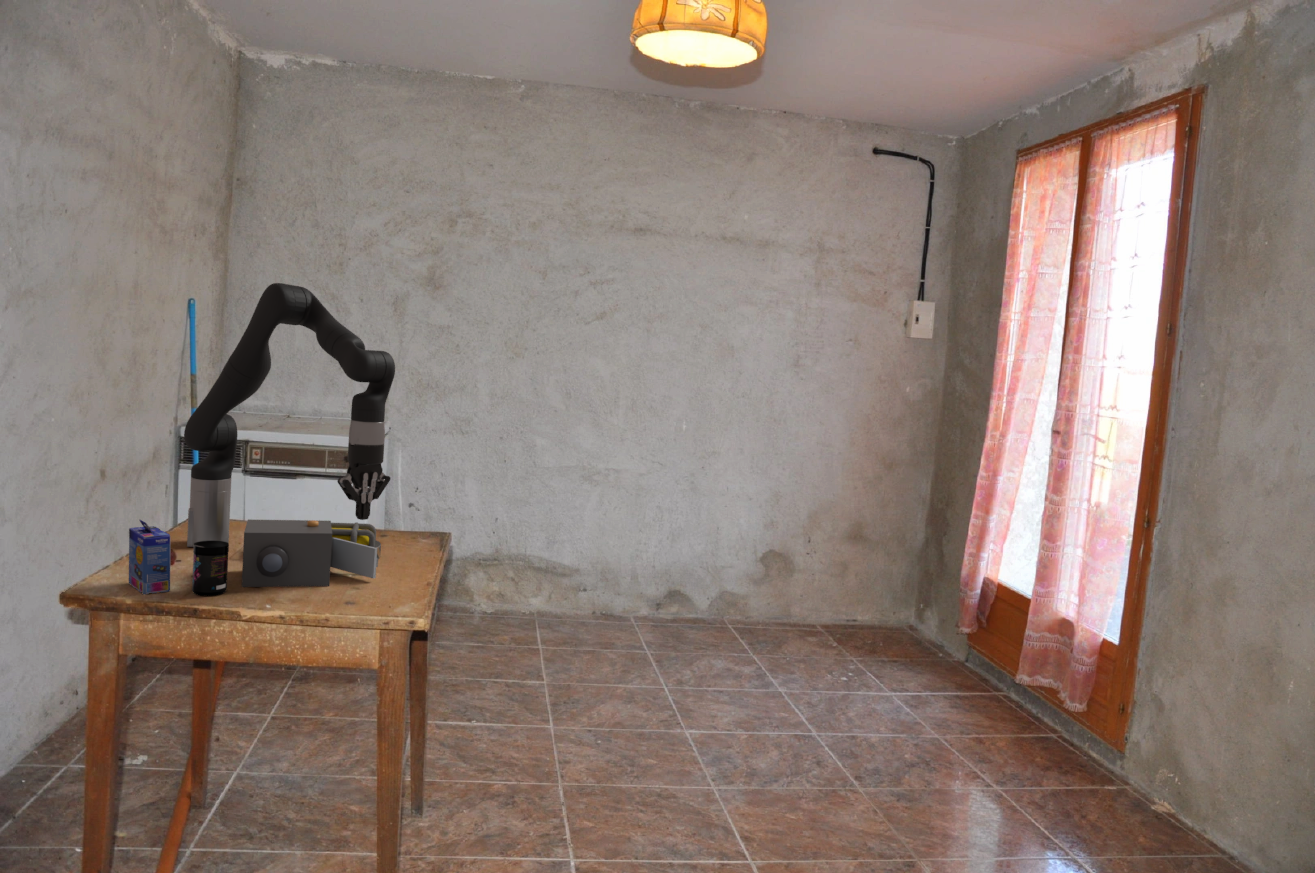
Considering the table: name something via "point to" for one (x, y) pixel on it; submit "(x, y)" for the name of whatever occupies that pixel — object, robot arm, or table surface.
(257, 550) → the block
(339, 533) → the cage light
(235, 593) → the table surface
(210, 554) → the supplement container
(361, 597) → the table surface
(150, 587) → the ink cartridge box
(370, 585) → the table surface
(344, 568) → the side door
